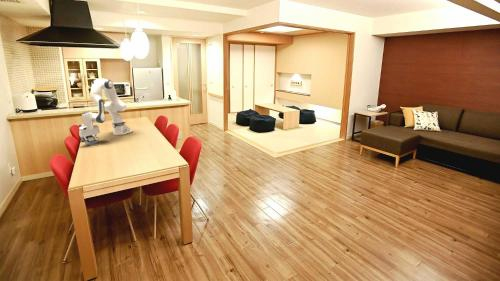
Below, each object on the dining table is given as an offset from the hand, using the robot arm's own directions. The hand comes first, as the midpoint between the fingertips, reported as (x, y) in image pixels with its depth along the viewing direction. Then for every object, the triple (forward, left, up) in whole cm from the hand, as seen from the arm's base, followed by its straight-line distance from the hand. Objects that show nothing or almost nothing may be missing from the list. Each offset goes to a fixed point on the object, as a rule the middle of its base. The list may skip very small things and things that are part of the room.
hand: (91, 139), depth 288 cm
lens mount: (0, 0, -6) cm, 6 cm away
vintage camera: (-6, -14, -6) cm, 16 cm away
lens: (0, 0, -5) cm, 5 cm away
